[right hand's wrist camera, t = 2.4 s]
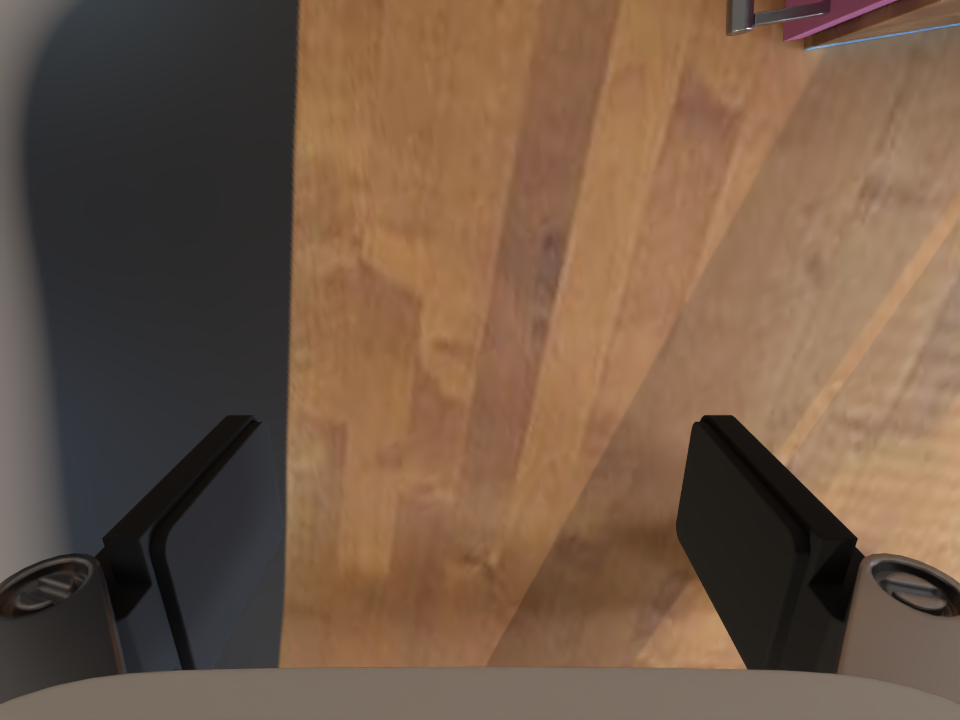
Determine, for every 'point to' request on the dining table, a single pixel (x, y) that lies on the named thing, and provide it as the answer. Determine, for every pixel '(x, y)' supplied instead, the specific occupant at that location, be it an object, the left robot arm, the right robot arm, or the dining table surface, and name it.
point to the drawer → (797, 15)
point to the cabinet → (889, 22)
